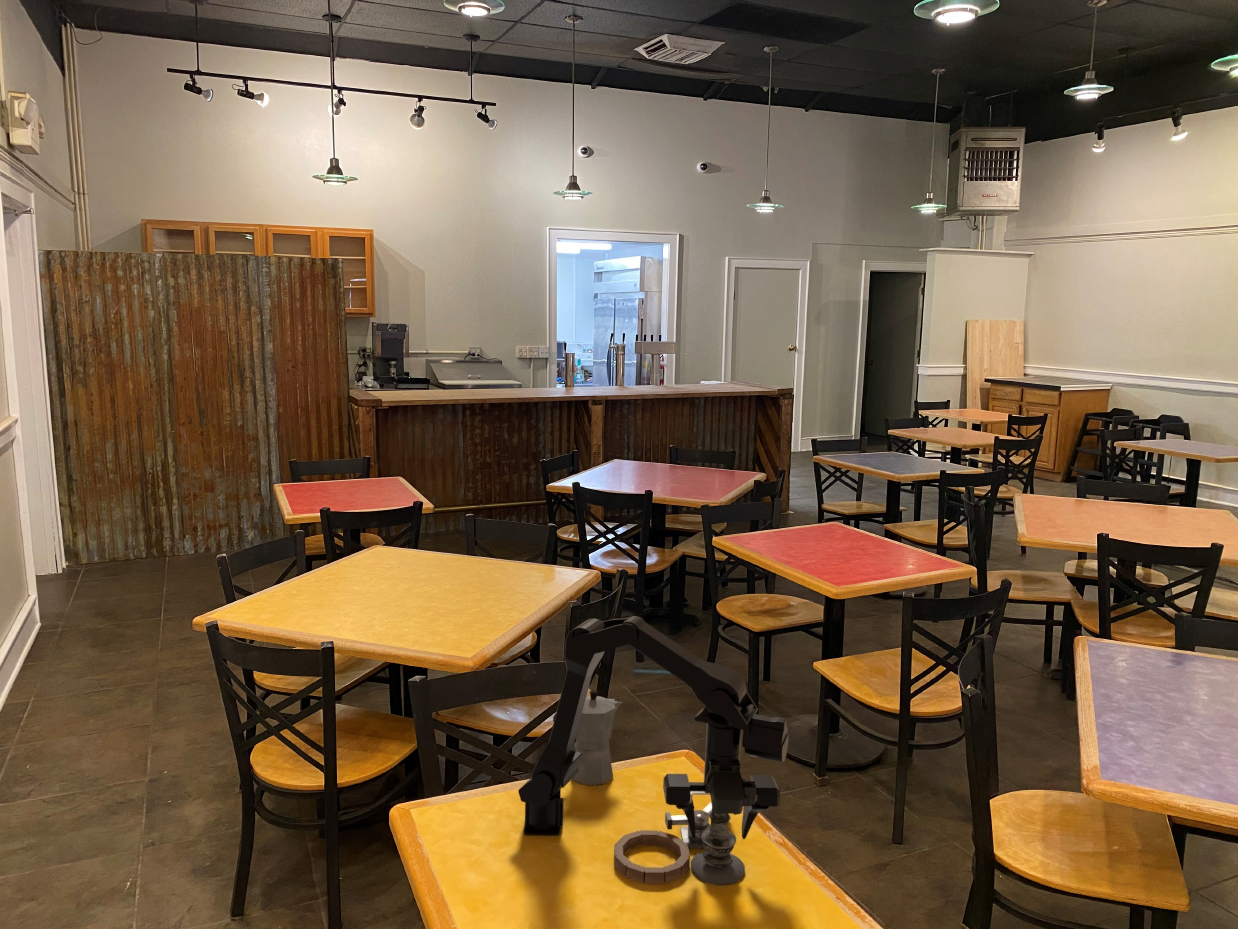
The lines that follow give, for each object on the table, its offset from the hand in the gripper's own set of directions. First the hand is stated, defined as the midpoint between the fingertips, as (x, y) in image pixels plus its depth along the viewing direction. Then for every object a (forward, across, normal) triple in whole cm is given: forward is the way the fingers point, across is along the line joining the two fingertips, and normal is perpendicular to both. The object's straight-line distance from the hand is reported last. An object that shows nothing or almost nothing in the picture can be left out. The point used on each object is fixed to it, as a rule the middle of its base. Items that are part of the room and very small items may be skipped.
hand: (718, 837), depth 145 cm
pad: (+6, 0, 0) cm, 6 cm away
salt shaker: (+4, 0, 0) cm, 4 cm away
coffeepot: (+6, -22, +32) cm, 39 cm away
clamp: (+3, -2, +13) cm, 13 cm away
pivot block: (+6, -2, +9) cm, 11 cm away
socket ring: (+6, -11, +2) cm, 12 cm away
